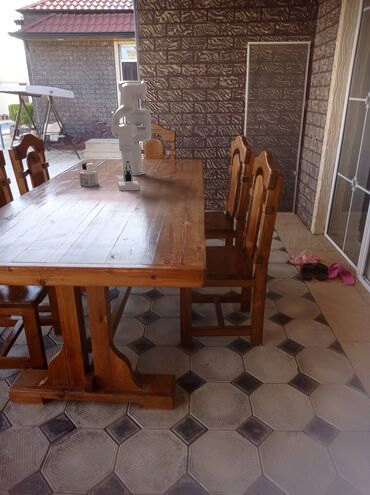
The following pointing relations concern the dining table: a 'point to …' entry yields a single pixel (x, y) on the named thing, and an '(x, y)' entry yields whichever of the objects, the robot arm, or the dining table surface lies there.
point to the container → (88, 175)
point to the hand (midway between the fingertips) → (127, 179)
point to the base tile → (128, 185)
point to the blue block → (124, 176)
